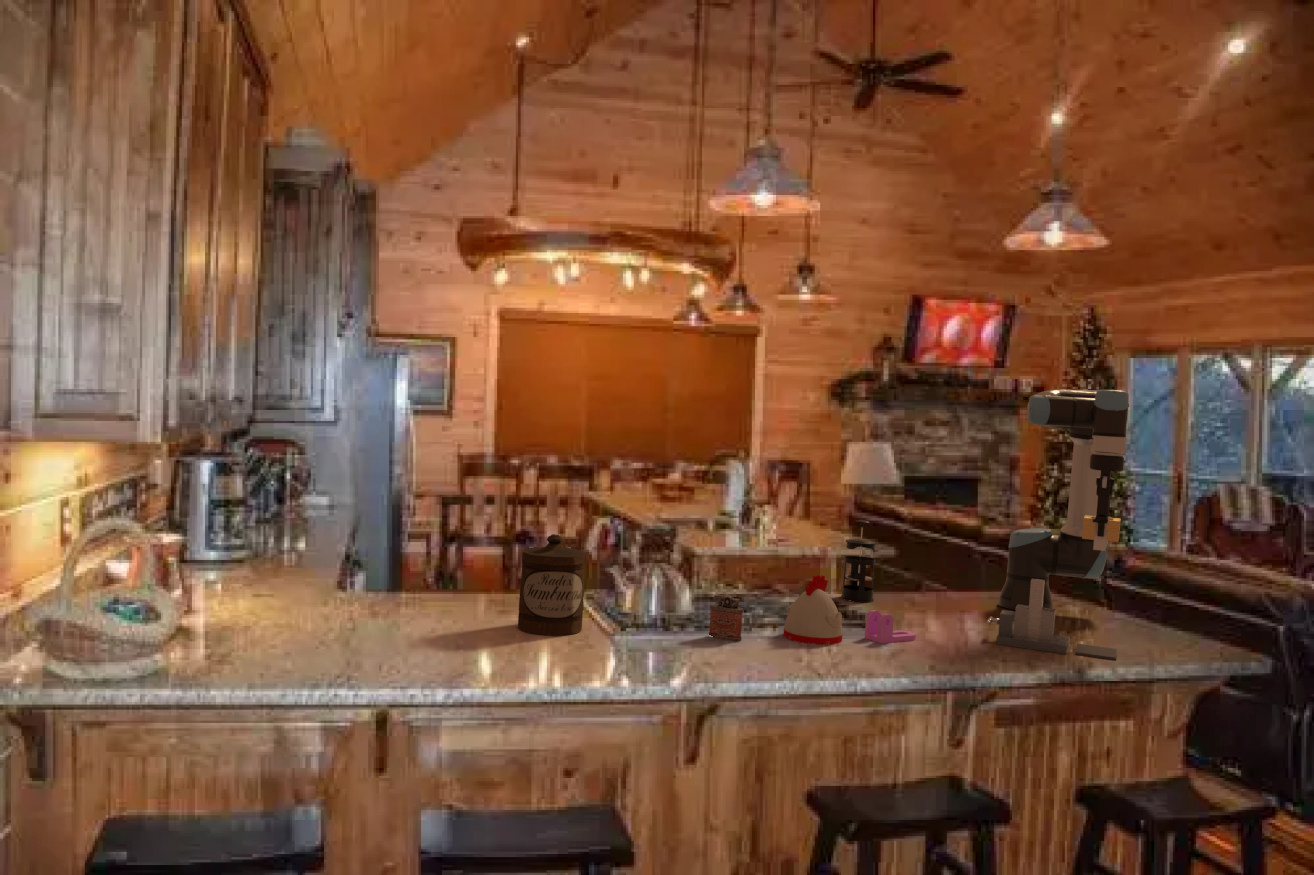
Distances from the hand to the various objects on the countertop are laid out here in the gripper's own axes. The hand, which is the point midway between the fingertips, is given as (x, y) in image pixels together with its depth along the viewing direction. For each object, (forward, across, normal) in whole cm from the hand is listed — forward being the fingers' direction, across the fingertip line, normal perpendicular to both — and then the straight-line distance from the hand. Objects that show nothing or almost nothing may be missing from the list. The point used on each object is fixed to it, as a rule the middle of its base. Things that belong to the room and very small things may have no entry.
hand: (1100, 548), depth 264 cm
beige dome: (+26, +30, -61) cm, 73 cm away
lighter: (+26, +45, -78) cm, 94 cm away
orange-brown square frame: (-2, 0, 0) cm, 2 cm away
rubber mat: (+25, 0, +1) cm, 25 cm away
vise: (+25, +1, -15) cm, 30 cm away
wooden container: (+26, +63, -115) cm, 133 cm away
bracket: (+26, +18, -44) cm, 55 cm away
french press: (+26, -30, -65) cm, 76 cm away
